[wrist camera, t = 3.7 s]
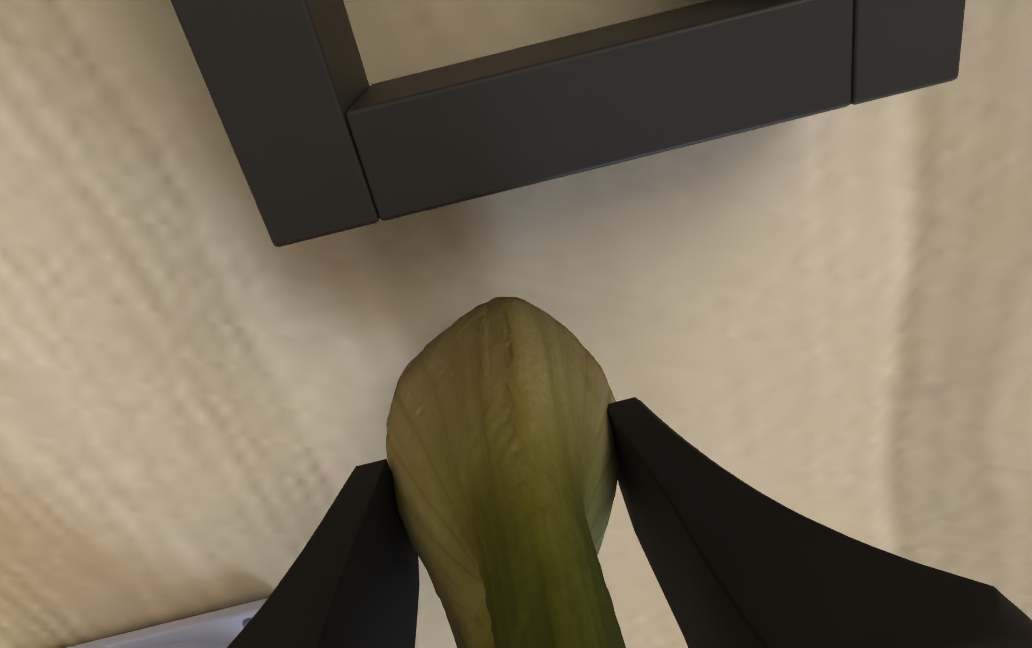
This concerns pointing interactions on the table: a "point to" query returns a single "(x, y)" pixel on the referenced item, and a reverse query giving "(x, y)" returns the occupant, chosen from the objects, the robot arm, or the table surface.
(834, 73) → the holder
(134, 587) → the table surface
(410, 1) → the table surface
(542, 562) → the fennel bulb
